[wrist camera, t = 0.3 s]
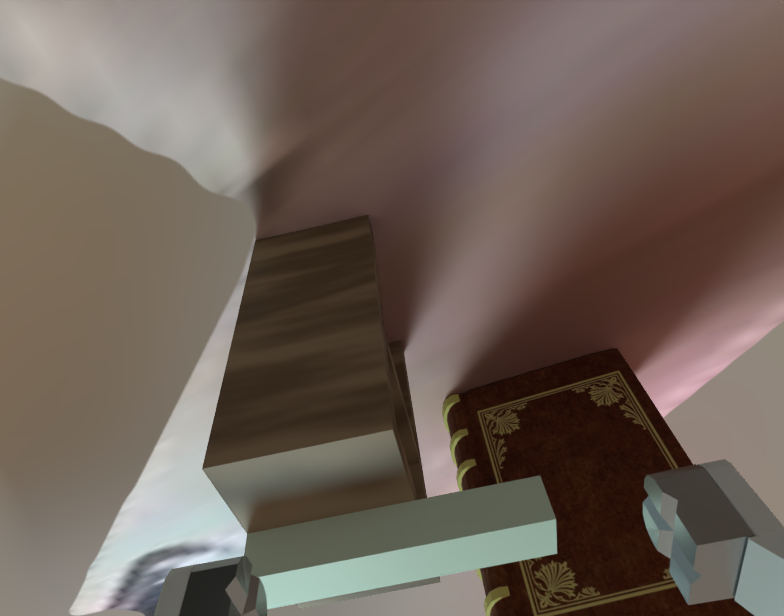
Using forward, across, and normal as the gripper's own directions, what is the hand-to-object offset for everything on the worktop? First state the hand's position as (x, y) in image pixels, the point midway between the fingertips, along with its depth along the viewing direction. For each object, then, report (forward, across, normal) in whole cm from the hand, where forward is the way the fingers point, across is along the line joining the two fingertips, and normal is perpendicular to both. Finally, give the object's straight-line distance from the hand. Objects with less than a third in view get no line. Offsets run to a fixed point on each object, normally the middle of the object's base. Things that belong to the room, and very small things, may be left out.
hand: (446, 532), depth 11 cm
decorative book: (+44, -12, +37) cm, 59 cm away
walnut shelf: (+42, +7, +17) cm, 46 cm away
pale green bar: (+16, +4, +20) cm, 26 cm away
